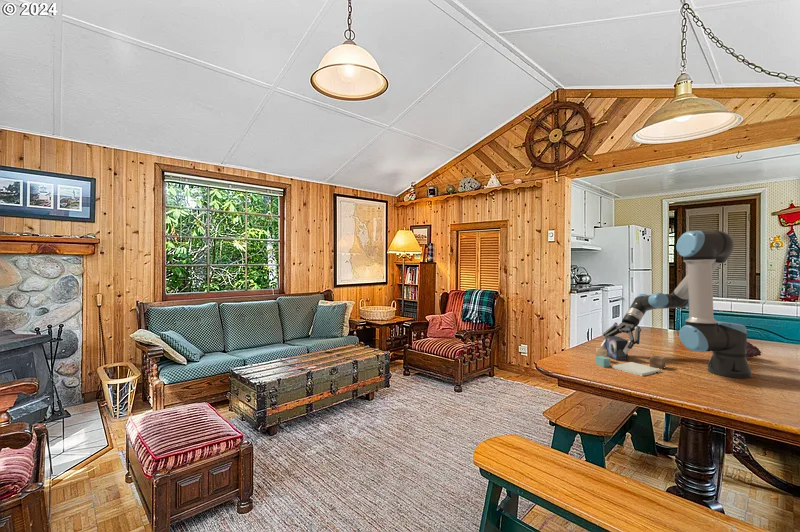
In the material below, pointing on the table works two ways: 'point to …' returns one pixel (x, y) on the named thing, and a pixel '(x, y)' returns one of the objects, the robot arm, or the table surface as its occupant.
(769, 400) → the table surface
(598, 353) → the oak cylinder
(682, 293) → the robot arm
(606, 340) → the small box
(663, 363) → the walnut block
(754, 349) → the pine cone
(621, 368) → the tile
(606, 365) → the teal block
